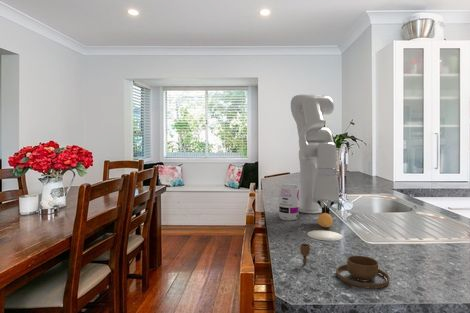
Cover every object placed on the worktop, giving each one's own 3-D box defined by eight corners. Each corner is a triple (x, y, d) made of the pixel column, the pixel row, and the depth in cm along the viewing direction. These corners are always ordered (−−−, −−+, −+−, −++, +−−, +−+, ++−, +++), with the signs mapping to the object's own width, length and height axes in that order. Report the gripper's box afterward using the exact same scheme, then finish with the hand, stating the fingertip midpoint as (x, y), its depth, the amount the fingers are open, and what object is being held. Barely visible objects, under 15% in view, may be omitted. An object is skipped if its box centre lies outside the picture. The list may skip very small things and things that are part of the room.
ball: (317, 224, 127) (318, 211, 127) (332, 226, 126) (332, 212, 125) (317, 228, 122) (317, 214, 122) (332, 229, 120) (332, 215, 120)
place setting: (355, 299, 68) (356, 271, 67) (295, 266, 85) (295, 244, 85) (407, 283, 76) (408, 258, 75) (343, 256, 93) (343, 236, 93)
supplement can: (297, 216, 141) (297, 183, 140) (299, 221, 133) (299, 185, 132) (278, 216, 142) (279, 182, 141) (279, 220, 134) (280, 184, 133)
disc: (308, 229, 120) (308, 229, 120) (342, 232, 116) (342, 232, 116) (306, 238, 108) (306, 238, 108) (344, 242, 105) (344, 241, 105)
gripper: (344, 172, 133) (343, 216, 133) (308, 171, 137) (307, 214, 137) (345, 173, 126) (345, 220, 126) (307, 172, 130) (306, 217, 130)
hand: (325, 217), depth 132 cm, fingers closed
